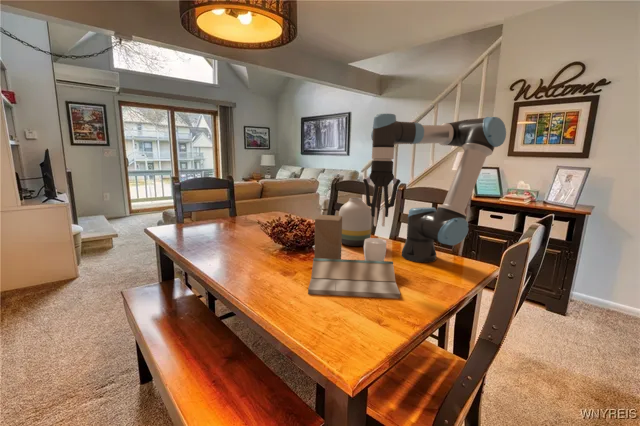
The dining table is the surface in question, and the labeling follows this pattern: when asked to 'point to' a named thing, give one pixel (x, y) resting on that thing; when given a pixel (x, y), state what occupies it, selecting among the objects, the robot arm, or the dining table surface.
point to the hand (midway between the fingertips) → (379, 225)
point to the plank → (353, 270)
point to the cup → (374, 249)
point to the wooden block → (328, 237)
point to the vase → (355, 222)
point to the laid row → (353, 288)
